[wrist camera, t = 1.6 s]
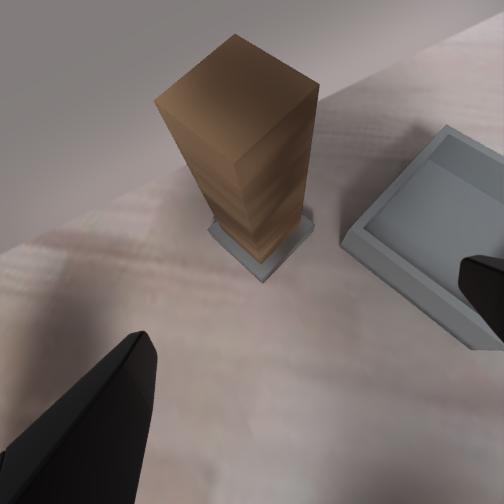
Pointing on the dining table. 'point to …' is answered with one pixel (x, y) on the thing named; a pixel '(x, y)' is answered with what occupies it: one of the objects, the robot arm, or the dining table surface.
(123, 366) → the robot arm
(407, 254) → the tray
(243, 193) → the wooden post on base
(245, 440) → the dining table surface
